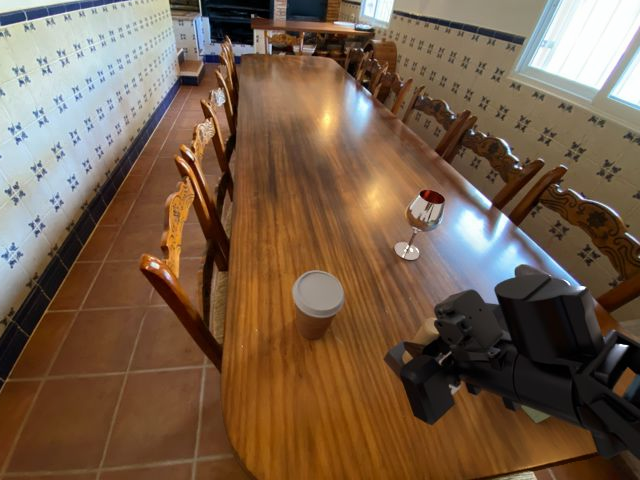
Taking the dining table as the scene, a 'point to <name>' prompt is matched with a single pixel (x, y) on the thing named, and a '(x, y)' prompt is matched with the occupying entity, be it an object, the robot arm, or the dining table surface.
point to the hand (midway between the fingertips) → (410, 340)
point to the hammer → (424, 336)
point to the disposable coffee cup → (316, 302)
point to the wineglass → (421, 219)
